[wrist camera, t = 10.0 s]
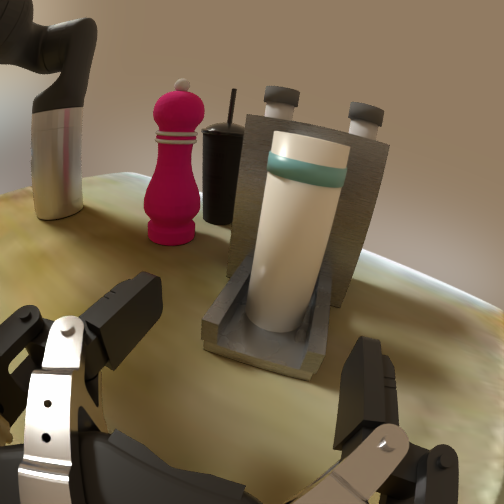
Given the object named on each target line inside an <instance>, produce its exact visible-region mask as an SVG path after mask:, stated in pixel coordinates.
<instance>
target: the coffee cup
mask: <svg viewBox="0 0 504 504" xmlns="http://www.w3.org/2000/svg"><path fill="white" fill-rule="evenodd" d="M349 152H350V147H349V146H346V145H342V144H338V143H335V142H331V141H327V140H322V139H318V138H313V137H309V136H304V135H299V134H293V133H287V132H281V131H274V135H273V141H272V148H271V151H269V156H268V163H267V171H268V172H267V179H266V185H265V191H264V197H263V203H262V210H261V216H260V222H259V228H258V234H257V240H256V246H255V253H254V259H253V265H252V271H251V277H250V283H249V289H248V295H247V301H246V307H245V311H246V314H247V316H248V318H249V319H250V321H251V322H253V323H254V324H255V325H256V326H258V327H260V328H262V329H264V330H267V331H271V332H279V333H282V332H289V331H293V330H295V329H297V328H298V327H299V326H300V325H301V324H302V323H303V320H304V317H305V314H306V311H307V308H308V305H309V302H310V299H311V296H312V293H313V290H314V286H315V283H316V280H317V277H318V273H319V270H320V267H321V263H322V260H323V256H324V253H325V249H326V246H327V242H328V239H329V235H330V231H331V228H332V224H333V220H334V216H335V212H336V208H337V204H338V200H339V196H340V192H341V188H342V187H343V186H344V182H345V177H346V173H347V167H346V166H347V161H348V156H349Z"/></svg>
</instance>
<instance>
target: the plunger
mask: <svg viewBox="0 0 504 504" xmlns="http://www.w3.org/2000/svg"><path fill="white" fill-rule="evenodd" d="M299 95H300V92H299V91H297V90H294V89H290V88H284V87H278V86H267V87H266V90H265V96H264V102H267V104H266V111H265V117H272V118H278V119H284V120H290V121H292V118H293V112H294V107H298V101H299Z"/></svg>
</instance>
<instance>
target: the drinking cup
mask: <svg viewBox="0 0 504 504" xmlns="http://www.w3.org/2000/svg"><path fill="white" fill-rule="evenodd" d="M236 91H237V89H232V92H231V99H230V106H229V113H228V120H227V123H217V124H213V125H210V126H208V127H206V128H203V129H202V130H201V132H202V133H203V219H204V220H205V221H206V222H209V223H212V224H218V225H225V224H230V223H232V222H233V214H234V205H235V197H236V190H237V182H238V174H239V167H240V159H241V152H242V144H243V137H244V130H245V127H243V126H240V125H237V124H234V123H232V119H233V112H234V105H235V98H236Z"/></svg>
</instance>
